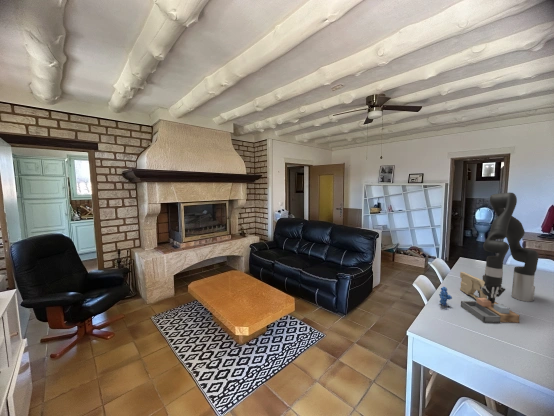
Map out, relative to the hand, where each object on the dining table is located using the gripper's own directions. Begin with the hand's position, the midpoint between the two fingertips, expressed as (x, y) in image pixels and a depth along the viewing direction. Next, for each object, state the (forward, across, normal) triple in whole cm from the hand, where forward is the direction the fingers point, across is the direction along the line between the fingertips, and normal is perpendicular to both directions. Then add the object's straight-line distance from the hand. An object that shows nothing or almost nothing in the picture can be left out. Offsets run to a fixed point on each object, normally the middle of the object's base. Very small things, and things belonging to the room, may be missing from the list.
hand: (491, 302), depth 135 cm
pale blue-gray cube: (+1, 0, +7) cm, 7 cm away
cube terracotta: (+1, +4, 0) cm, 4 cm away
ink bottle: (+6, -30, -36) cm, 48 cm away
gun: (+6, -3, -18) cm, 19 cm away
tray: (+5, +9, +3) cm, 11 cm away
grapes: (+5, +22, -6) cm, 24 cm away
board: (+5, -1, +3) cm, 6 cm away
